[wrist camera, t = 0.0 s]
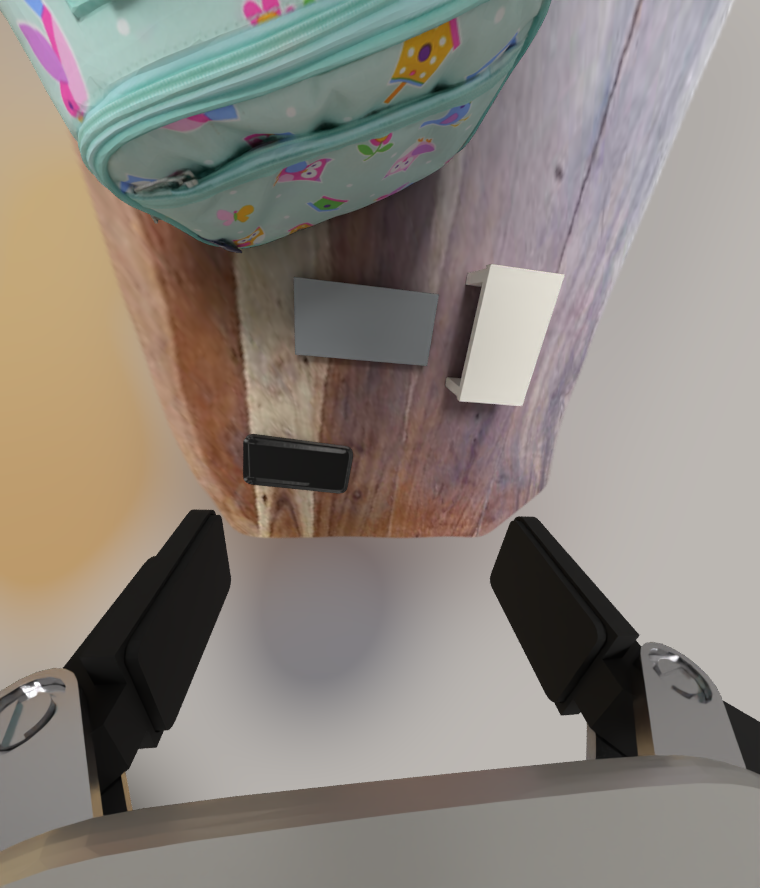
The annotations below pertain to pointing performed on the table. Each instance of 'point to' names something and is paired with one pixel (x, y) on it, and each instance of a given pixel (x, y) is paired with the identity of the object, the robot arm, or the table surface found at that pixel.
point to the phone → (296, 464)
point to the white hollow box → (506, 333)
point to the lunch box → (269, 99)
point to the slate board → (363, 322)
